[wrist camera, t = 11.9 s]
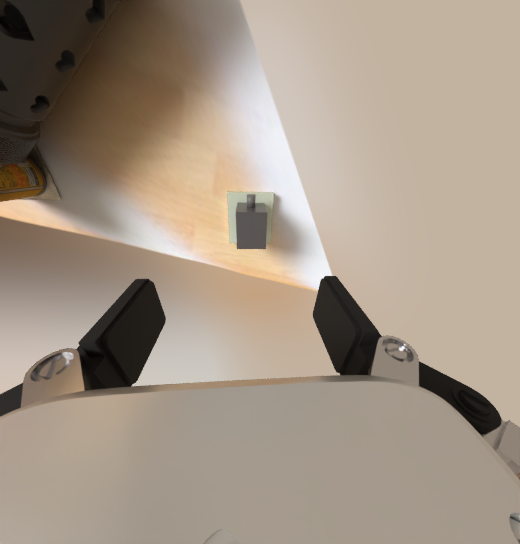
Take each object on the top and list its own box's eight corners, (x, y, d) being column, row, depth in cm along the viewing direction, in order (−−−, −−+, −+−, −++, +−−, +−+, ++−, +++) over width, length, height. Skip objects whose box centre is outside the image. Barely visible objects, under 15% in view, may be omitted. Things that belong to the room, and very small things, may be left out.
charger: (237, 191, 27) (235, 198, 22) (264, 191, 27) (268, 198, 22) (238, 235, 31) (237, 250, 26) (262, 235, 31) (265, 250, 26)
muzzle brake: (185, -22, 18) (127, -193, 9) (47, 174, 26) (-57, 182, 17) (85, -198, 14) (-202, -835, 5) (-45, 100, 21) (-249, 59, 13)
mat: (227, 191, 28) (226, 192, 27) (272, 192, 29) (273, 193, 28) (230, 240, 32) (229, 243, 31) (269, 240, 33) (270, 243, 32)
